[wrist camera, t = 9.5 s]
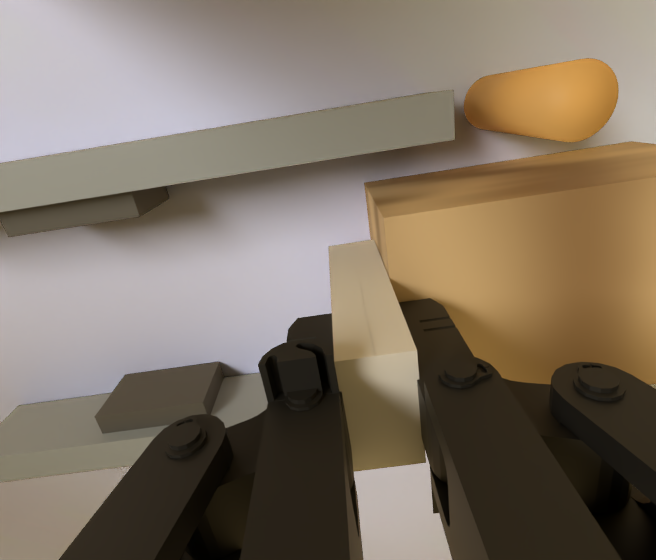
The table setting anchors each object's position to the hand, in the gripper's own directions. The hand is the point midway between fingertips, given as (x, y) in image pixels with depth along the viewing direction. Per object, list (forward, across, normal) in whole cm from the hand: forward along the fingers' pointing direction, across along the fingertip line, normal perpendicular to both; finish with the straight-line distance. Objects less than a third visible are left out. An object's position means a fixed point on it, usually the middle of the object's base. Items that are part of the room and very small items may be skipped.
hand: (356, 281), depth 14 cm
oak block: (+2, +5, 0) cm, 6 cm away
